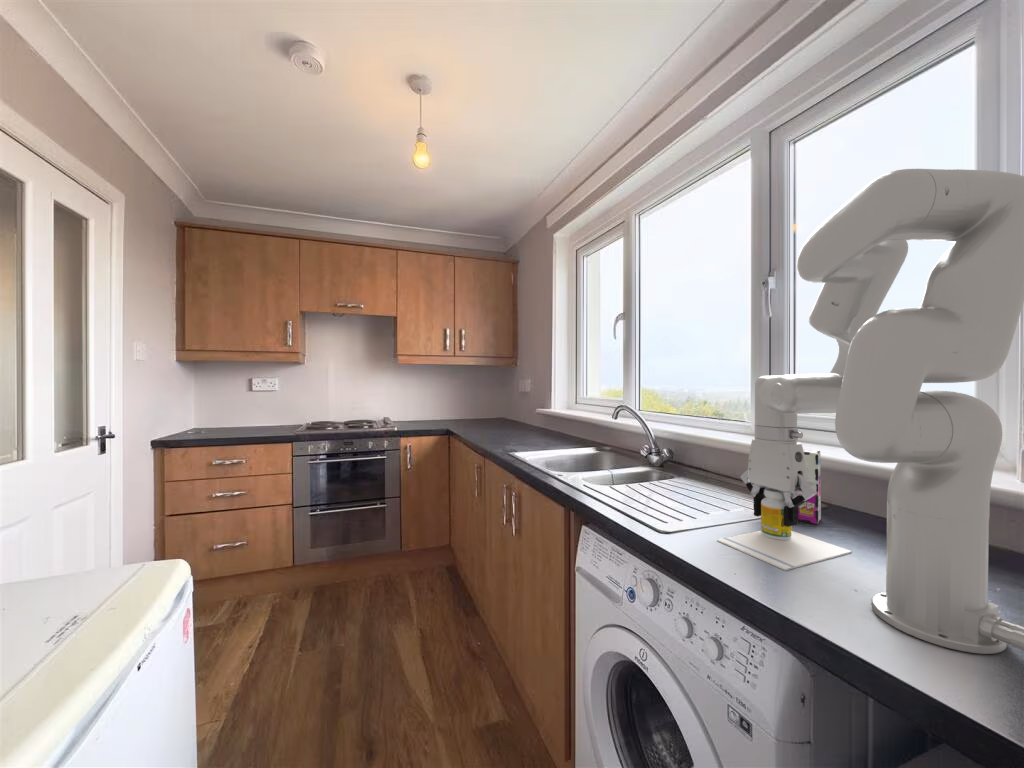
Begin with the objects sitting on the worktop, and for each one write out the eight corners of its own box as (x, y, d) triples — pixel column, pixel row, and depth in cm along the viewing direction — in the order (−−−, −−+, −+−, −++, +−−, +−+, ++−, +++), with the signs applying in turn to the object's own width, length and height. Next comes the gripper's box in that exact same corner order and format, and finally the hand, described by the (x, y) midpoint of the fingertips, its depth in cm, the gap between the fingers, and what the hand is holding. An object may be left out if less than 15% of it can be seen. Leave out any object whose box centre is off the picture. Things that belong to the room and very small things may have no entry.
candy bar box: (821, 519, 96) (821, 450, 96) (818, 525, 93) (819, 453, 92) (766, 509, 104) (766, 445, 104) (762, 514, 100) (762, 447, 100)
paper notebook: (851, 552, 78) (851, 550, 78) (785, 570, 71) (785, 568, 71) (779, 528, 91) (779, 526, 91) (717, 541, 84) (717, 539, 84)
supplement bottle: (768, 529, 89) (768, 485, 89) (796, 537, 85) (796, 491, 85) (756, 534, 86) (756, 489, 86) (784, 542, 82) (784, 495, 82)
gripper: (831, 439, 79) (831, 531, 79) (750, 429, 95) (749, 506, 95) (806, 441, 76) (806, 537, 76) (726, 430, 92) (726, 510, 92)
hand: (774, 519), depth 86 cm, fingers open, 5 cm apart
